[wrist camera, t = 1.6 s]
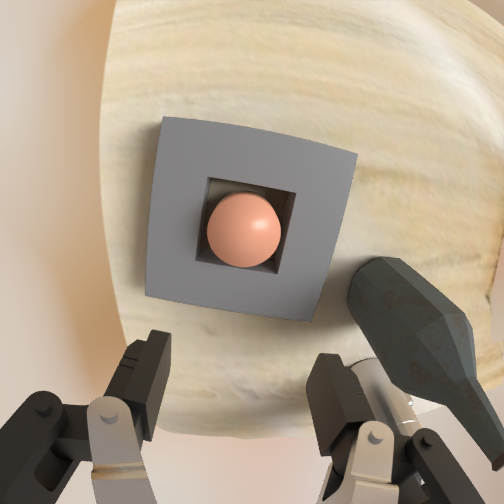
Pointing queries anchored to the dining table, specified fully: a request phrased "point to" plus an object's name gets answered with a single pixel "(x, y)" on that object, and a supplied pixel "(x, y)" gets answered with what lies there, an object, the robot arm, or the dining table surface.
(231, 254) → the button cap
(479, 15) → the dining table surface
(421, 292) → the bottle
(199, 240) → the button box
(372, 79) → the dining table surface
